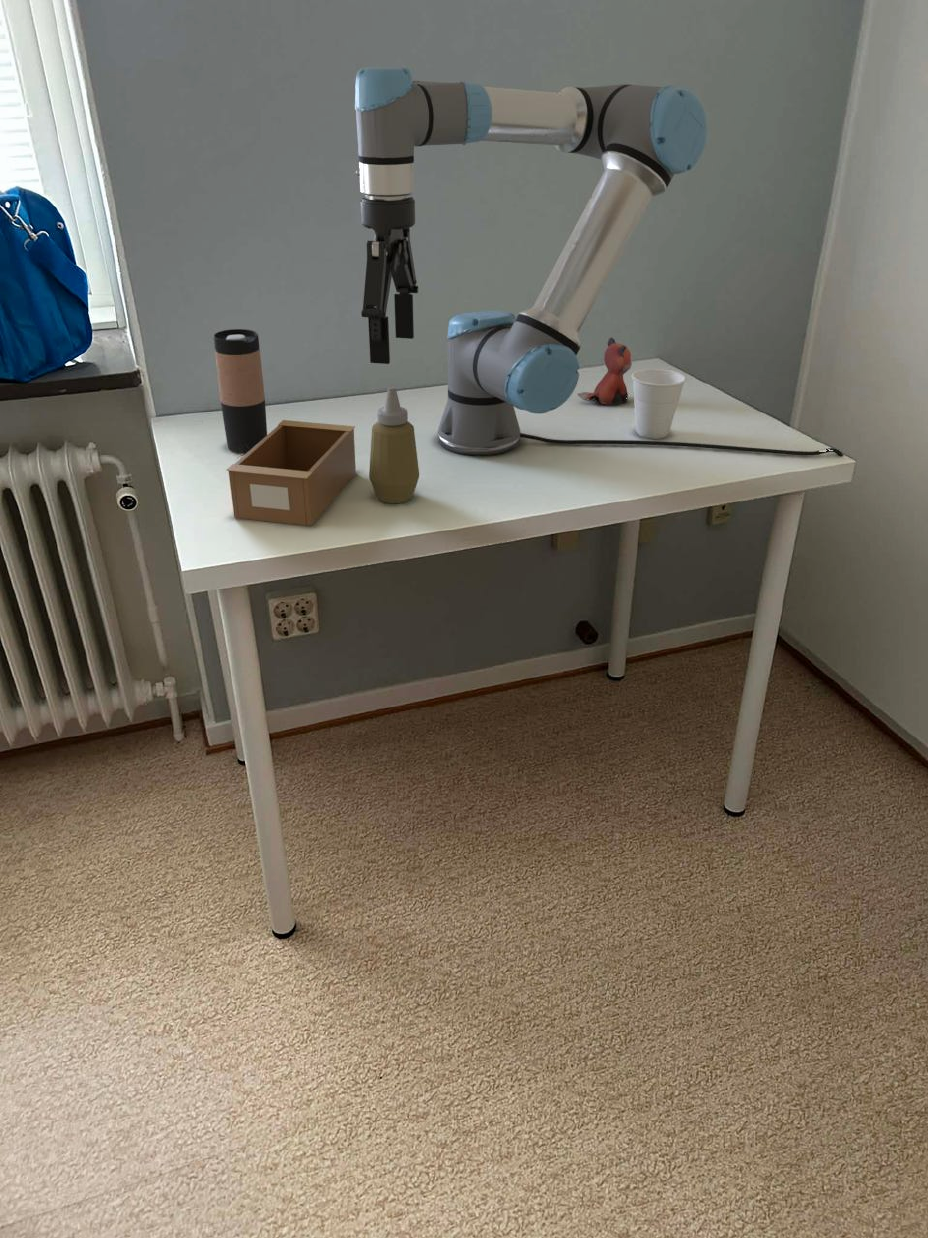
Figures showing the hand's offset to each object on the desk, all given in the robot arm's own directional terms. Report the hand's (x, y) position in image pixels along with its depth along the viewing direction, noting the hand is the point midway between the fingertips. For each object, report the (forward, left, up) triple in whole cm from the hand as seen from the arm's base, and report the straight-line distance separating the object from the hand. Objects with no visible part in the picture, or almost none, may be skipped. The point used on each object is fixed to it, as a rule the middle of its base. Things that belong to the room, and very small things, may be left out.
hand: (392, 349), depth 144 cm
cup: (-39, -39, -24) cm, 60 cm away
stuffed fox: (-28, -56, -24) cm, 67 cm away
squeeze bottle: (0, +1, -24) cm, 24 cm away
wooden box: (+16, +4, -24) cm, 28 cm away
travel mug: (+32, -14, -24) cm, 42 cm away
